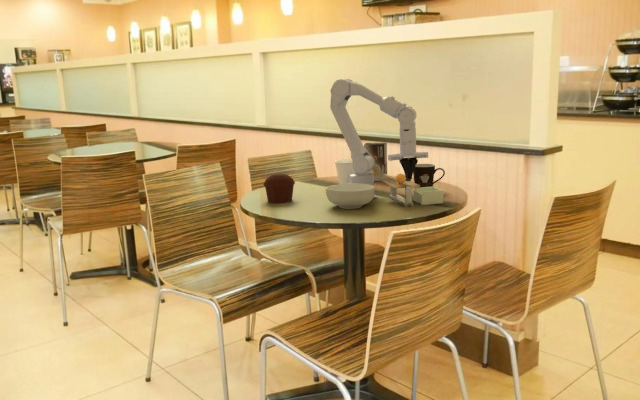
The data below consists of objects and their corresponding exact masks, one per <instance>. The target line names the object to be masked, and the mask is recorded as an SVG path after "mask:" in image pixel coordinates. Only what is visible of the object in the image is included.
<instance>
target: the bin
mask: <svg viewBox="0 0 640 400" xmlns="http://www.w3.org/2000/svg"><path fill="white" fill-rule="evenodd" d="M413 201H414V202H415V203H418V204H420V205H422V206H424V205H426V206H427V205H435V204H444V190H443V189H441V188H439V187H436V186H433V187H420V188H414V190H413Z"/></svg>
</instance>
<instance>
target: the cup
mask: <svg viewBox="0 0 640 400" xmlns="http://www.w3.org/2000/svg"><path fill="white" fill-rule="evenodd" d="M334 164H335V169H336V175H337V180H338V184H348V176H349V175H352V174H354V172H355V171H354V169H353V161H352V159H351V158H346V159H344V158H343V159H342V158H341V159H336V160H334Z"/></svg>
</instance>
